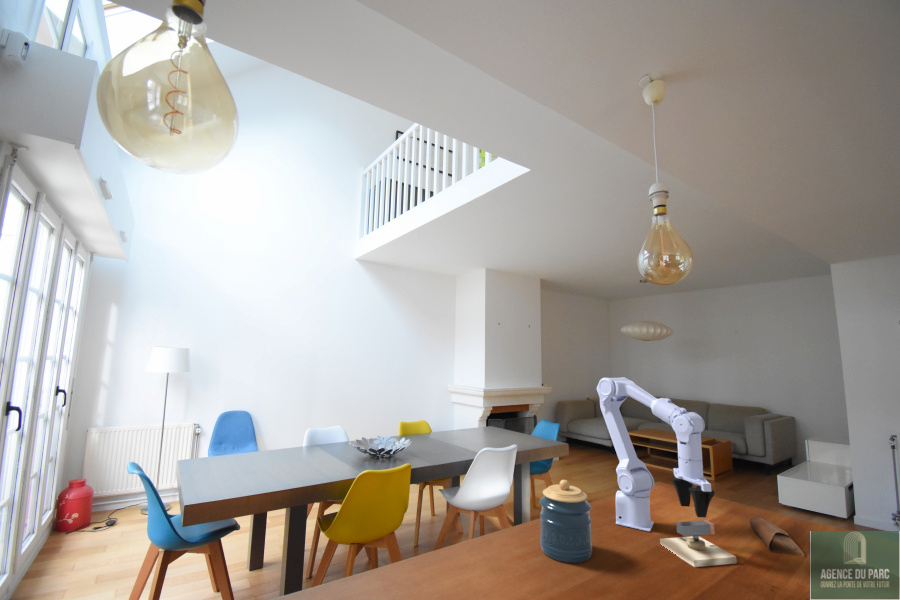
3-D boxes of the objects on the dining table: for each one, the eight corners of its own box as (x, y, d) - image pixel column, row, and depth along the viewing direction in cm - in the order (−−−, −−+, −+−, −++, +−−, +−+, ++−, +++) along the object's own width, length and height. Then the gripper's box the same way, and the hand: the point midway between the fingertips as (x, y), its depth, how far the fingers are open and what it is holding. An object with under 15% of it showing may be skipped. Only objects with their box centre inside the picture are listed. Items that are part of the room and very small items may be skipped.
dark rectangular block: (677, 539, 107) (676, 522, 107) (707, 536, 108) (706, 520, 109) (684, 543, 104) (683, 525, 105) (715, 540, 106) (713, 523, 107)
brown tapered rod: (810, 558, 104) (791, 531, 107) (782, 568, 106) (764, 542, 108) (783, 531, 121) (768, 508, 123) (760, 540, 123) (744, 518, 125)
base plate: (694, 567, 99) (693, 553, 99) (660, 544, 111) (659, 532, 111) (736, 563, 101) (735, 550, 102) (698, 541, 113) (698, 530, 113)
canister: (601, 551, 106) (598, 480, 109) (578, 570, 97) (576, 491, 99) (555, 536, 115) (554, 470, 117) (530, 551, 106) (529, 479, 108)
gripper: (662, 451, 119) (664, 501, 117) (690, 465, 105) (693, 521, 103) (686, 452, 119) (689, 501, 117) (718, 465, 105) (721, 522, 103)
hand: (692, 511), depth 110 cm, fingers open, 7 cm apart
